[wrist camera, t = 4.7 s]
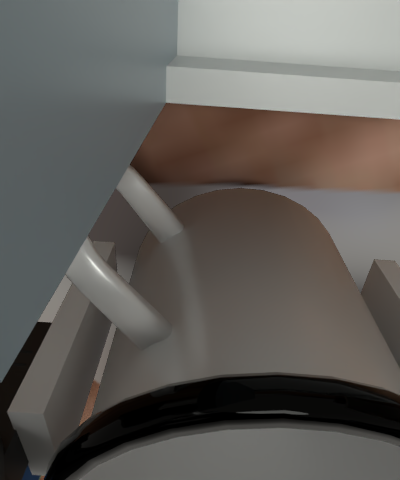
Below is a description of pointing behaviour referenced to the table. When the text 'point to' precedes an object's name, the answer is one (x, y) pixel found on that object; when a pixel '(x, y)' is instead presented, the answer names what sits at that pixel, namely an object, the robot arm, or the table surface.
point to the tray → (152, 104)
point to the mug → (234, 351)
